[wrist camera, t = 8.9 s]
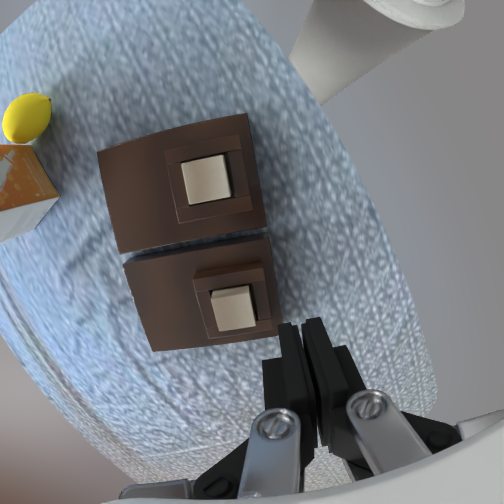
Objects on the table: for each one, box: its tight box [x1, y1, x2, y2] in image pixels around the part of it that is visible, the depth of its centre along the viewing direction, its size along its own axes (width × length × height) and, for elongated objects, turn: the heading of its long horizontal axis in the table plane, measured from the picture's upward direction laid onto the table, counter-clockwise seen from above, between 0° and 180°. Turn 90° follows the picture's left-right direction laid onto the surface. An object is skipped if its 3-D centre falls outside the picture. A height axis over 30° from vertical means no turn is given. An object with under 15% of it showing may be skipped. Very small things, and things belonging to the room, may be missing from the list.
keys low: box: [97, 113, 267, 254], centre depth 25 cm, size 14×10×4 cm
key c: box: [181, 155, 231, 205], centre depth 22 cm, size 3×3×2 cm
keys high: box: [123, 233, 282, 352], centre depth 28 cm, size 14×10×4 cm
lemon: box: [2, 93, 51, 144], centre depth 21 cm, size 7×5×5 cm
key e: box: [211, 285, 256, 331], centre depth 25 cm, size 3×3×2 cm
